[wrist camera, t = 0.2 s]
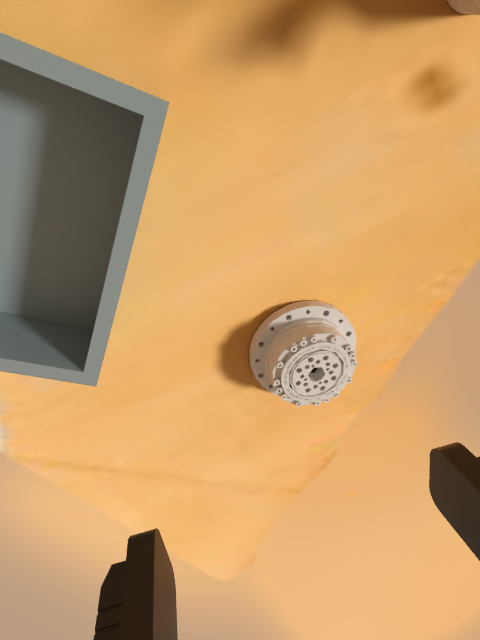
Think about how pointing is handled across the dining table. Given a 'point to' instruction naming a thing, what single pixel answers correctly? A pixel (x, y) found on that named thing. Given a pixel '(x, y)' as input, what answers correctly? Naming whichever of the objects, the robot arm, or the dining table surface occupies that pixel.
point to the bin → (67, 207)
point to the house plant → (466, 6)
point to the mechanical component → (304, 353)
